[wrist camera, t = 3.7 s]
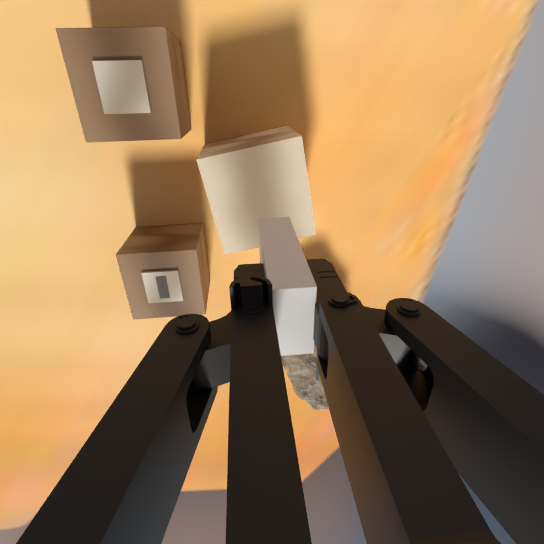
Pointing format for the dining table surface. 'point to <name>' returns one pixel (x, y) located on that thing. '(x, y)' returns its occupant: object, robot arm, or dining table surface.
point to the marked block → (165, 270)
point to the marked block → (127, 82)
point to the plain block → (256, 185)
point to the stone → (306, 378)
